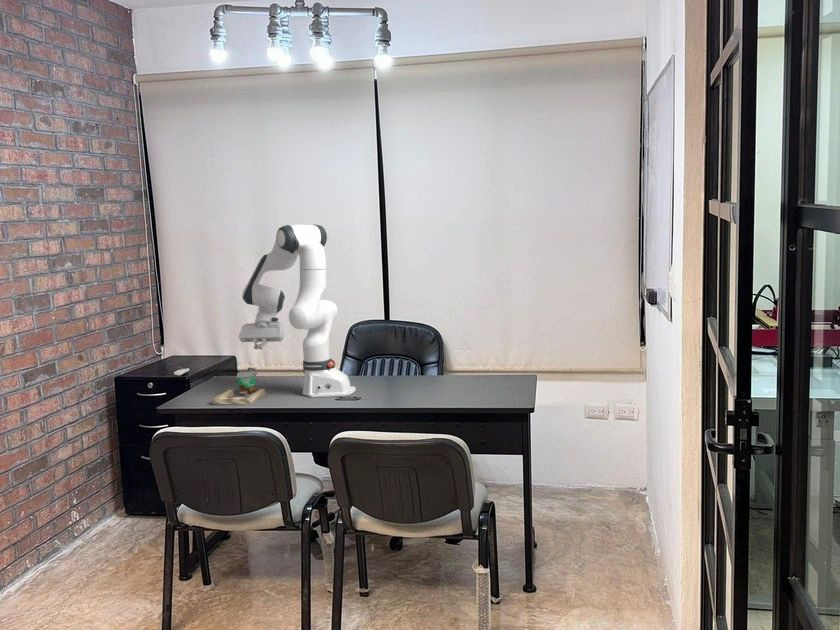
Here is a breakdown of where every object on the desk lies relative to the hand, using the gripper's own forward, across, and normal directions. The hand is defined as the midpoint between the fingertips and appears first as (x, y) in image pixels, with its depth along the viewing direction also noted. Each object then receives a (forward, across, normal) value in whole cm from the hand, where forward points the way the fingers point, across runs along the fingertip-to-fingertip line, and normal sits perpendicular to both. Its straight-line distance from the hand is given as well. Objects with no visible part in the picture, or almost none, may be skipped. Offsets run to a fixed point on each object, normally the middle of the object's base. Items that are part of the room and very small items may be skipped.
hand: (258, 348), depth 361 cm
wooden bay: (+29, 0, -4) cm, 29 cm away
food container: (+20, 0, +4) cm, 21 cm away
